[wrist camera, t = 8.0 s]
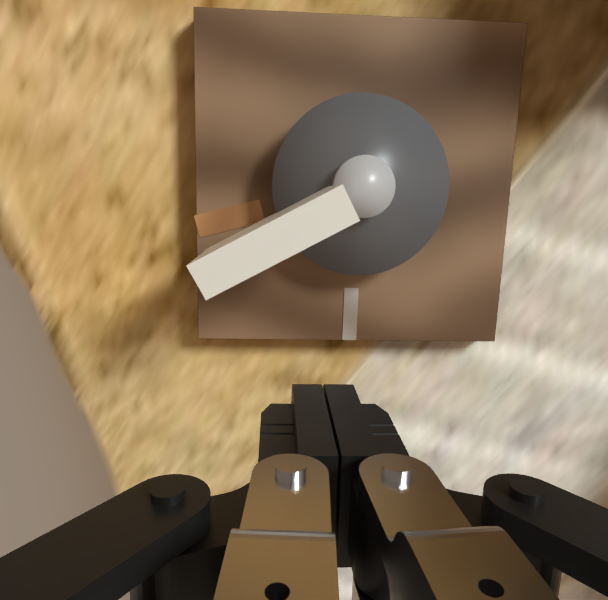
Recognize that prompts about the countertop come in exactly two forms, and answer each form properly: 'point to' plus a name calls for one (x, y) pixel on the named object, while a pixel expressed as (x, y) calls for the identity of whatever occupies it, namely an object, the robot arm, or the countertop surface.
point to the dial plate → (325, 85)
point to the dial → (342, 195)
